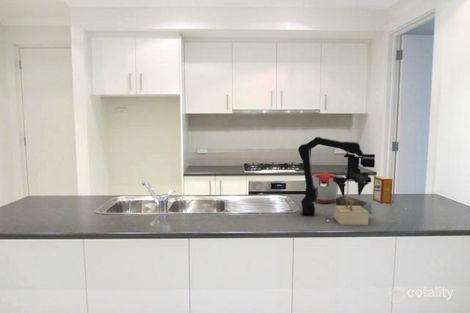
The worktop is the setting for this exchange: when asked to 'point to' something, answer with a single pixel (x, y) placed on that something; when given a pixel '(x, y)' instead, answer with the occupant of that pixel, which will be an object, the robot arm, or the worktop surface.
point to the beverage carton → (342, 202)
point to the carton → (352, 216)
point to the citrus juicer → (325, 187)
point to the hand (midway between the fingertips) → (351, 195)
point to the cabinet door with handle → (345, 208)
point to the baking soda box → (382, 189)
